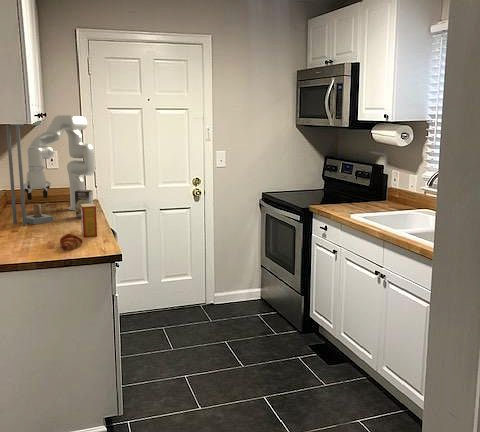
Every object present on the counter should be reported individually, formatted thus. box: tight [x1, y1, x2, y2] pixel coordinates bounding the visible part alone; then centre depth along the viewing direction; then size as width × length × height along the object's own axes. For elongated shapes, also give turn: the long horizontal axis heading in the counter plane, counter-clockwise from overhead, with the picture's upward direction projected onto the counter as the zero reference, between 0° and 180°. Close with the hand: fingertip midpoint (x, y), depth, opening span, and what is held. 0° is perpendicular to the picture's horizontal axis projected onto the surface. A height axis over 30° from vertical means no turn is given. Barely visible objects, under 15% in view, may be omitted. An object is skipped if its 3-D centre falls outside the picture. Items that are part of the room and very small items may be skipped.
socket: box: [26, 213, 54, 225], centre depth 303 cm, size 12×12×3 cm
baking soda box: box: [80, 202, 98, 239], centre depth 268 cm, size 10×6×16 cm
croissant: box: [59, 232, 83, 251], centre depth 246 cm, size 21×10×8 cm, turn 5°
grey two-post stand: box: [5, 120, 41, 227], centre depth 295 cm, size 14×12×57 cm
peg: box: [33, 203, 42, 218], centre depth 303 cm, size 4×4×10 cm
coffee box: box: [75, 189, 94, 219], centre depth 317 cm, size 9×6×16 cm
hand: (37, 198), depth 302 cm, fingers open, 9 cm apart
